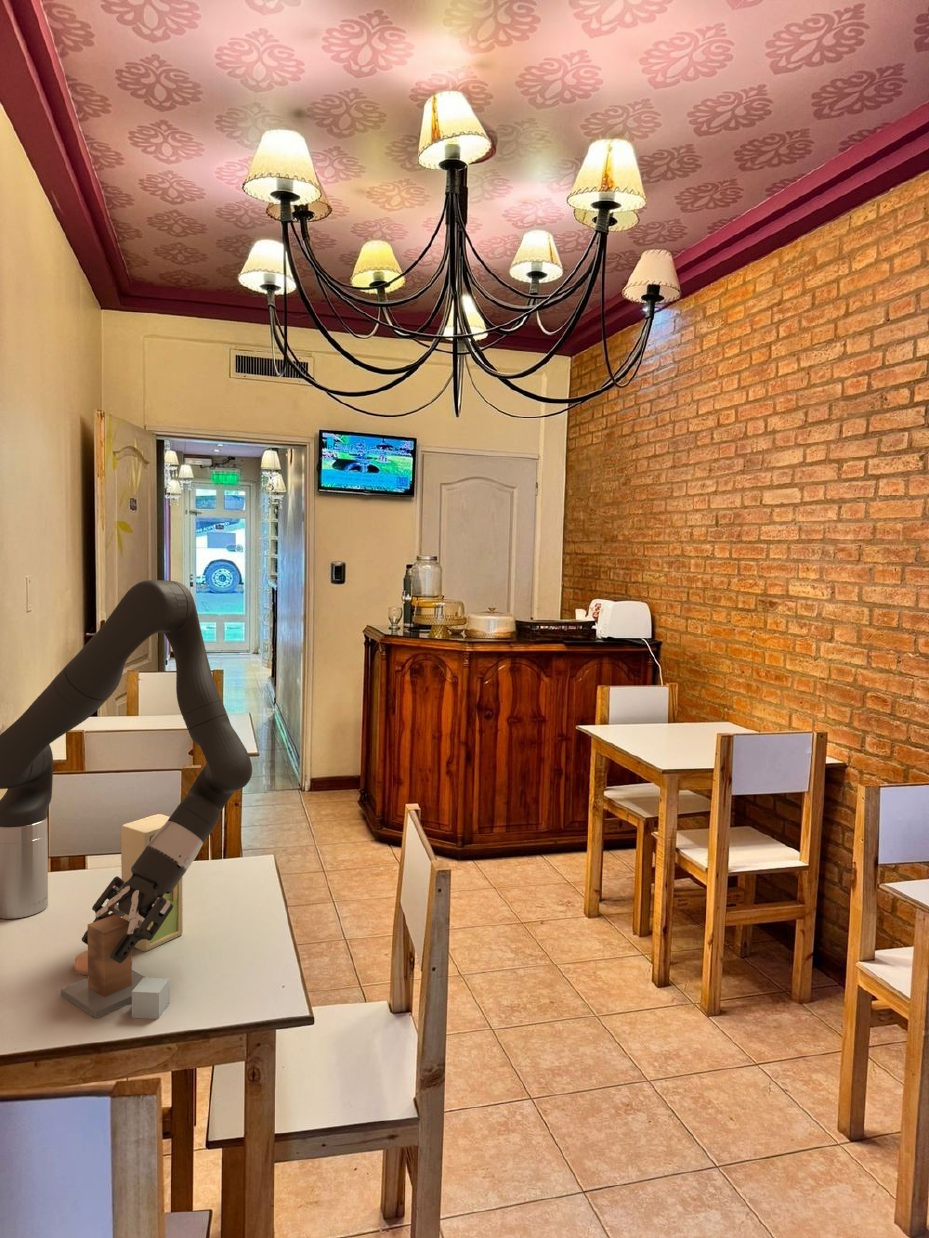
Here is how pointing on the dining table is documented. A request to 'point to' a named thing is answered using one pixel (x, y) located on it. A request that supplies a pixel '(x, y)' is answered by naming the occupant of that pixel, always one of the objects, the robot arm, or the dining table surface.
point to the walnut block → (107, 956)
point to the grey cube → (150, 998)
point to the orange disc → (81, 963)
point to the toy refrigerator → (132, 846)
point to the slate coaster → (99, 997)
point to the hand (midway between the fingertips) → (100, 951)
